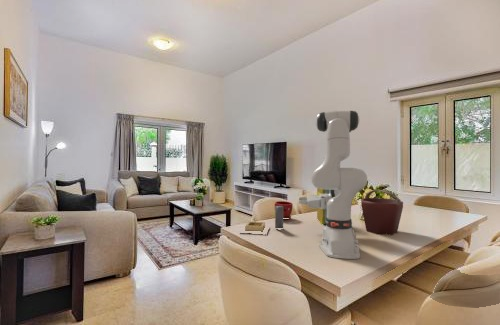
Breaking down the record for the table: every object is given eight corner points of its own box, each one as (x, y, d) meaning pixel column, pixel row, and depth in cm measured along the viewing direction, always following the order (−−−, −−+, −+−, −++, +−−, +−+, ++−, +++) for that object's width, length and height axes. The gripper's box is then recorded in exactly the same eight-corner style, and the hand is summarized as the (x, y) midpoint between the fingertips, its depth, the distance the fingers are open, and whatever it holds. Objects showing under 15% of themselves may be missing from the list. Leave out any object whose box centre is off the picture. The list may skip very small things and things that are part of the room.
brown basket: (411, 237, 138) (411, 192, 138) (371, 237, 138) (371, 192, 138) (386, 226, 162) (386, 187, 162) (353, 226, 162) (353, 187, 162)
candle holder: (266, 235, 142) (266, 228, 142) (239, 233, 145) (239, 226, 145) (269, 227, 158) (269, 221, 158) (245, 226, 161) (245, 220, 161)
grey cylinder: (283, 230, 152) (283, 207, 152) (274, 230, 153) (274, 207, 153) (283, 228, 157) (283, 206, 156) (275, 227, 157) (275, 205, 157)
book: (332, 224, 165) (332, 187, 165) (321, 224, 165) (321, 187, 165) (324, 219, 182) (325, 184, 182) (315, 218, 182) (315, 184, 182)
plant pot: (272, 220, 178) (272, 203, 178) (276, 216, 191) (276, 200, 191) (291, 221, 175) (291, 204, 175) (293, 217, 187) (293, 201, 187)
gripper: (320, 193, 160) (299, 192, 163) (324, 198, 140) (299, 198, 143) (320, 202, 160) (299, 202, 163) (324, 209, 140) (299, 209, 143)
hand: (299, 200), depth 153 cm, fingers open, 8 cm apart
